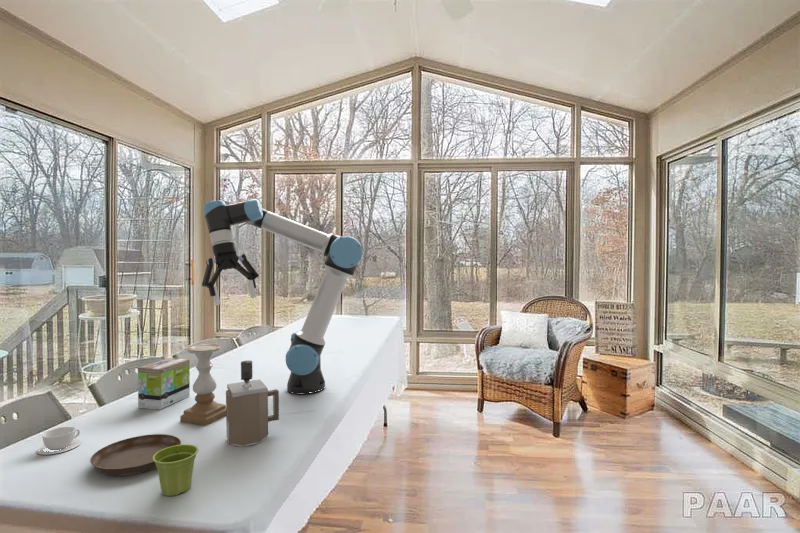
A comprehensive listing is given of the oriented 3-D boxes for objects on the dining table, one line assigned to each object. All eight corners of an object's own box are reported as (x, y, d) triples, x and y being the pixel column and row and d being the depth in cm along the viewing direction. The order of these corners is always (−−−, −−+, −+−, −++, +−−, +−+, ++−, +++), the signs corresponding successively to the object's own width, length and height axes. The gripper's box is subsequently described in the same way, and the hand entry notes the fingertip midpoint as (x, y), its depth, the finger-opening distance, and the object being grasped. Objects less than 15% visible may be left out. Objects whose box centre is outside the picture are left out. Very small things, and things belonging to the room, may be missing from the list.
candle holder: (229, 413, 148) (228, 344, 147) (205, 425, 137) (204, 352, 136) (204, 409, 151) (203, 342, 150) (179, 421, 141) (177, 349, 140)
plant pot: (164, 479, 105) (164, 444, 105) (204, 477, 106) (204, 443, 106) (145, 501, 96) (144, 463, 95) (189, 499, 97) (188, 461, 96)
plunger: (259, 426, 134) (258, 356, 133) (265, 436, 127) (264, 363, 126) (229, 432, 130) (228, 360, 129) (235, 443, 122) (233, 367, 121)
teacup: (46, 459, 116) (45, 442, 116) (30, 450, 121) (29, 434, 120) (88, 445, 124) (87, 429, 124) (71, 437, 129) (71, 422, 129)
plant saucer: (146, 439, 128) (146, 428, 128) (198, 451, 120) (198, 439, 120) (71, 472, 109) (71, 459, 109) (127, 489, 101) (126, 475, 101)
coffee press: (273, 425, 138) (273, 376, 137) (283, 438, 128) (282, 386, 127) (224, 435, 130) (223, 383, 130) (231, 450, 121) (230, 394, 120)
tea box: (161, 410, 151) (161, 368, 150) (137, 408, 153) (136, 367, 152) (190, 396, 166) (190, 358, 165) (168, 394, 168) (167, 357, 167)
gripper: (249, 243, 166) (262, 296, 165) (183, 249, 147) (197, 309, 147) (259, 238, 161) (272, 293, 160) (191, 244, 142) (206, 306, 141)
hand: (236, 301), depth 153 cm, fingers open, 13 cm apart
